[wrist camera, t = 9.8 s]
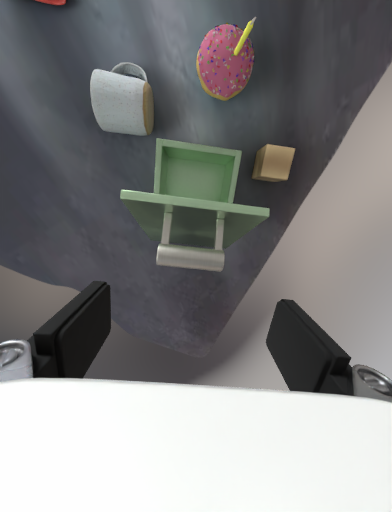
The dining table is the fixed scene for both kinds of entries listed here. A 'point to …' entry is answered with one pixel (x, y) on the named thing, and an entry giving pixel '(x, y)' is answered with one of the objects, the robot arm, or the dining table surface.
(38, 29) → the dining table surface
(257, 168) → the block
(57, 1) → the butter dish
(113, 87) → the ceramic mug
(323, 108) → the dining table surface
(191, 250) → the lid
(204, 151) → the box
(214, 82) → the cupcake
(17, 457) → the robot arm
